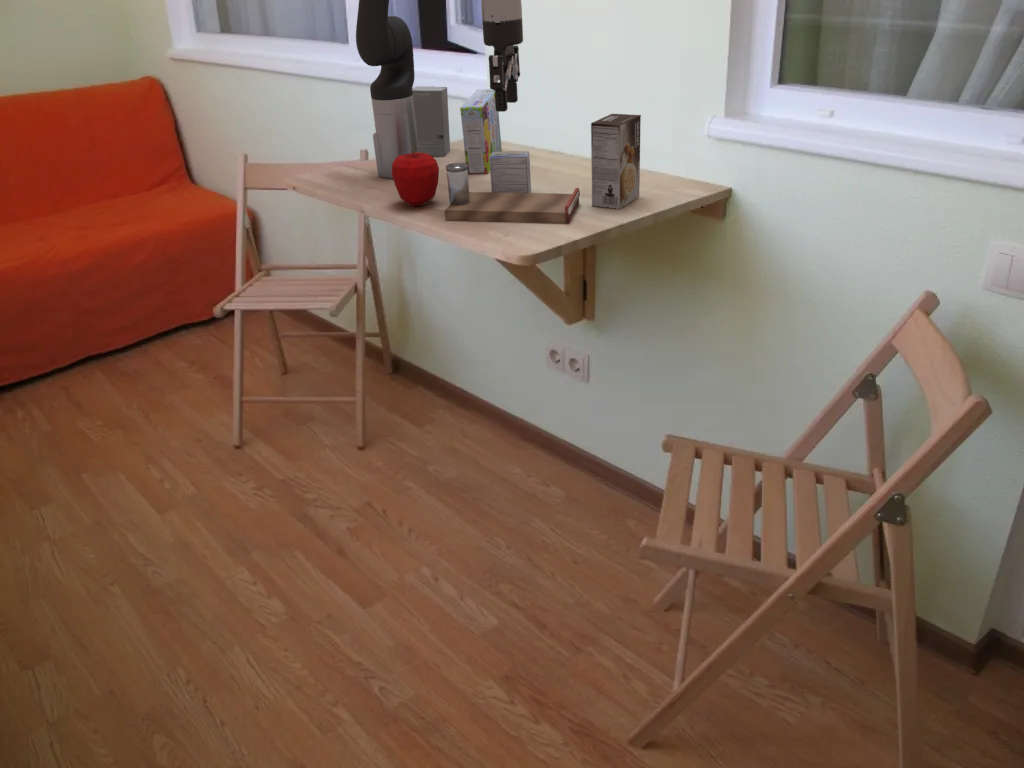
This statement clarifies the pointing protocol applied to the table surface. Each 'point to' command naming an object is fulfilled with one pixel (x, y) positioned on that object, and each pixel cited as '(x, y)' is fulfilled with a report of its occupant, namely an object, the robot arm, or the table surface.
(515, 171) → the medicine box
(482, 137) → the snack box
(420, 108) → the skincare box
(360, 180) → the table surface
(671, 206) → the table surface
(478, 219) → the brown wooden board
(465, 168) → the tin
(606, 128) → the coffee box
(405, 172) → the apple
